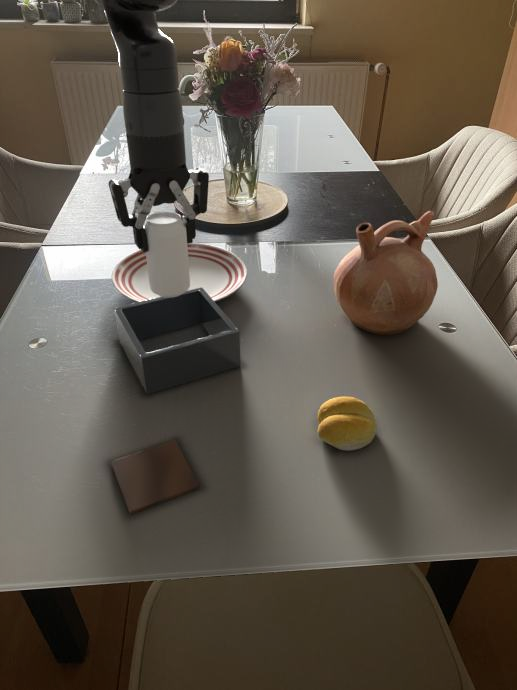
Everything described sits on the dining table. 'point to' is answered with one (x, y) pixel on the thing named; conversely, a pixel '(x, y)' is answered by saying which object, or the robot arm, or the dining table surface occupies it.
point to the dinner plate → (204, 270)
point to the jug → (387, 277)
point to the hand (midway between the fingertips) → (166, 245)
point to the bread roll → (346, 423)
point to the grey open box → (183, 358)
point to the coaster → (153, 476)
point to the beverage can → (167, 254)
